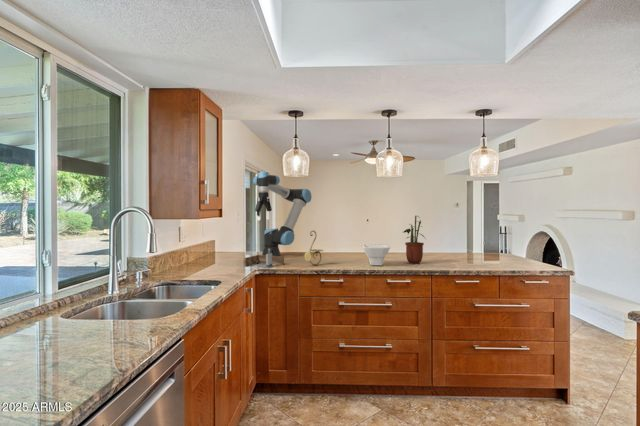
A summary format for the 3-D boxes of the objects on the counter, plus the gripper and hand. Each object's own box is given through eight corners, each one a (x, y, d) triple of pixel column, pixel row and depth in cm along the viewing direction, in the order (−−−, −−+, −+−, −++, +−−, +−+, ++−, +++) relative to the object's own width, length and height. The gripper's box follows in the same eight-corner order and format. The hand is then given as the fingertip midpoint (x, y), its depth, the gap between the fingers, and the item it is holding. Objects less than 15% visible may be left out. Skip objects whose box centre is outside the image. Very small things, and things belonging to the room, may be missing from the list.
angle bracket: (272, 265, 271) (272, 253, 270) (267, 267, 265) (267, 254, 265) (261, 265, 274) (261, 252, 274) (256, 266, 269) (256, 253, 268)
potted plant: (409, 261, 290) (409, 215, 290) (429, 263, 282) (429, 215, 281) (400, 264, 276) (400, 215, 275) (421, 266, 267) (421, 216, 266)
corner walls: (257, 262, 286) (257, 254, 286) (283, 264, 277) (283, 256, 277) (243, 266, 269) (243, 258, 269) (271, 268, 261) (270, 259, 260)
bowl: (362, 263, 282) (362, 244, 282) (389, 263, 280) (389, 244, 280) (362, 267, 264) (362, 247, 263) (391, 267, 261) (391, 247, 261)
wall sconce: (312, 267, 266) (312, 231, 265) (303, 265, 272) (303, 230, 272) (326, 264, 276) (326, 230, 275) (317, 263, 282) (316, 229, 282)
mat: (260, 264, 277) (260, 264, 277) (276, 265, 271) (276, 265, 271) (253, 266, 267) (253, 266, 267) (269, 268, 262) (269, 267, 262)
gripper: (267, 192, 306) (267, 219, 306) (250, 191, 283) (250, 220, 283) (275, 192, 303) (276, 219, 303) (258, 191, 280) (259, 220, 280)
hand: (263, 219), depth 293 cm, fingers open, 13 cm apart
